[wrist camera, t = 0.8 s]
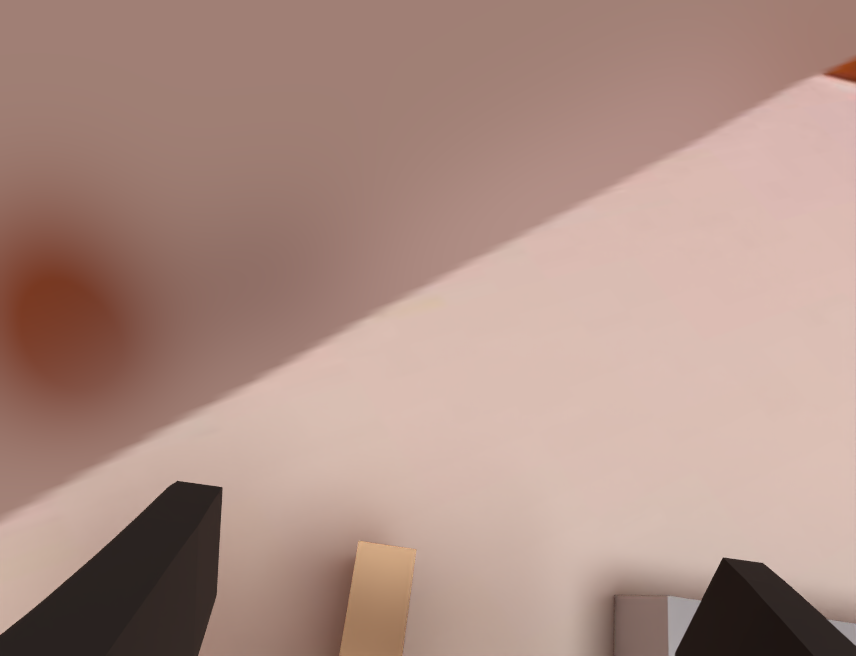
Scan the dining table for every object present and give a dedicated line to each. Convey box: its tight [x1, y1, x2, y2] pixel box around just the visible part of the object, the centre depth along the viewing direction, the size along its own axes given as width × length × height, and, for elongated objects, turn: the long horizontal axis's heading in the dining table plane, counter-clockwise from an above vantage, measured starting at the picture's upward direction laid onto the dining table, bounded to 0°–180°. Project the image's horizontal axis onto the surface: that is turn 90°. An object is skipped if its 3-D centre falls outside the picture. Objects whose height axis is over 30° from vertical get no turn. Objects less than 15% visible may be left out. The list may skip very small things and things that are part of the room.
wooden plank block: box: [339, 541, 416, 656], centre depth 19 cm, size 4×2×8 cm, turn 172°
